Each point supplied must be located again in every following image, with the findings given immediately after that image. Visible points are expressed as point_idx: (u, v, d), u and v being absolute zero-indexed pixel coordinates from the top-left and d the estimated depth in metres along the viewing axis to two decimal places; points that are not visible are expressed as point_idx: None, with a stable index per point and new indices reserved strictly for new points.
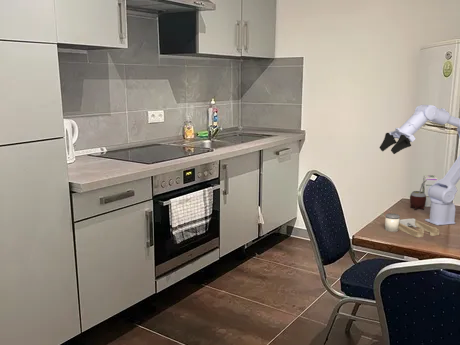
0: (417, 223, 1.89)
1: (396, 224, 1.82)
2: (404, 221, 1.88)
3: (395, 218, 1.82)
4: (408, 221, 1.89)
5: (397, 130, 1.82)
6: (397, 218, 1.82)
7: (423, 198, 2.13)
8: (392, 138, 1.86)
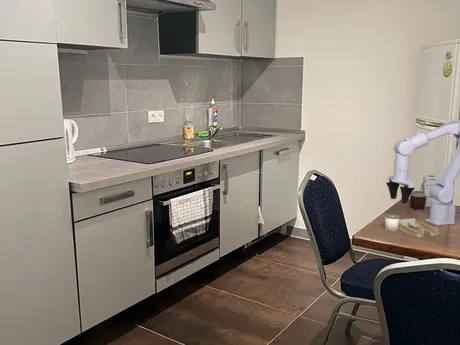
0: (417, 223, 1.89)
1: (396, 224, 1.82)
2: (404, 221, 1.88)
3: (395, 218, 1.82)
4: (408, 221, 1.89)
5: (394, 181, 1.91)
6: (397, 218, 1.82)
7: (423, 198, 2.13)
8: (394, 183, 1.96)
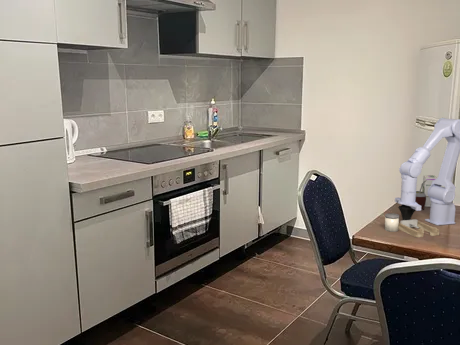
0: (417, 223, 1.89)
1: (396, 224, 1.82)
2: (406, 222, 1.87)
3: (395, 218, 1.82)
4: (410, 222, 1.87)
5: (401, 203, 1.87)
6: (397, 218, 1.82)
7: (423, 198, 2.13)
8: None
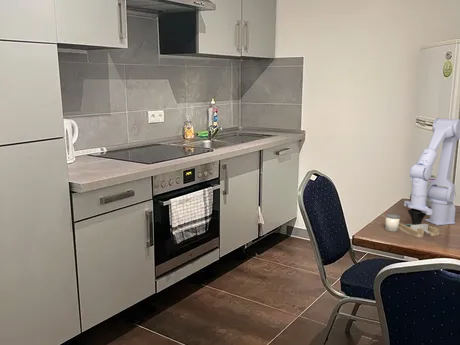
0: None
1: (397, 224, 1.83)
2: (416, 226, 1.81)
3: (396, 218, 1.82)
4: (420, 226, 1.81)
5: (411, 207, 1.81)
6: (398, 218, 1.82)
7: None
8: None
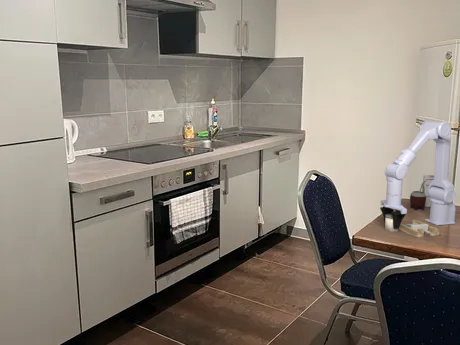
0: (417, 223, 1.89)
1: None
2: (417, 227, 1.81)
3: None
4: (421, 227, 1.81)
5: (386, 206, 1.83)
6: None
7: (423, 198, 2.13)
8: (388, 209, 1.86)
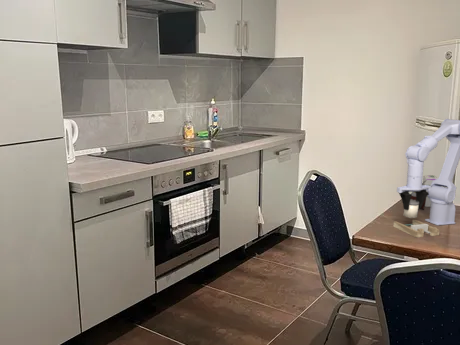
0: (417, 223, 1.89)
1: (408, 210, 1.84)
2: (417, 227, 1.81)
3: None
4: (421, 227, 1.81)
5: None
6: (409, 204, 1.83)
7: None
8: (419, 192, 1.85)
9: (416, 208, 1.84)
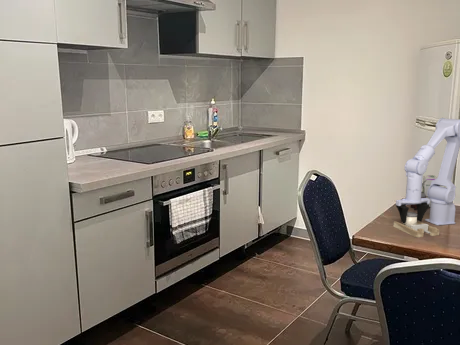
0: (417, 223, 1.89)
1: (407, 222, 1.85)
2: (417, 227, 1.81)
3: None
4: (421, 227, 1.81)
5: None
6: (408, 216, 1.85)
7: None
8: (420, 205, 1.86)
9: (415, 220, 1.85)
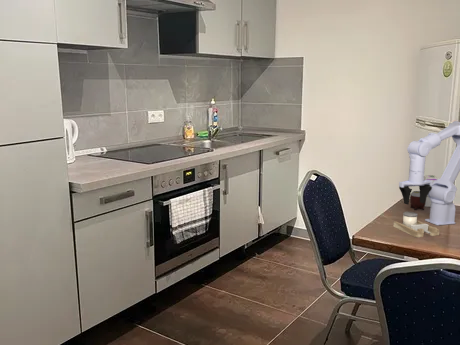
0: (417, 223, 1.89)
1: (407, 222, 1.85)
2: (417, 227, 1.81)
3: (406, 215, 1.85)
4: (421, 227, 1.81)
5: None
6: (408, 216, 1.85)
7: None
8: (423, 187, 1.88)
9: (415, 220, 1.85)
